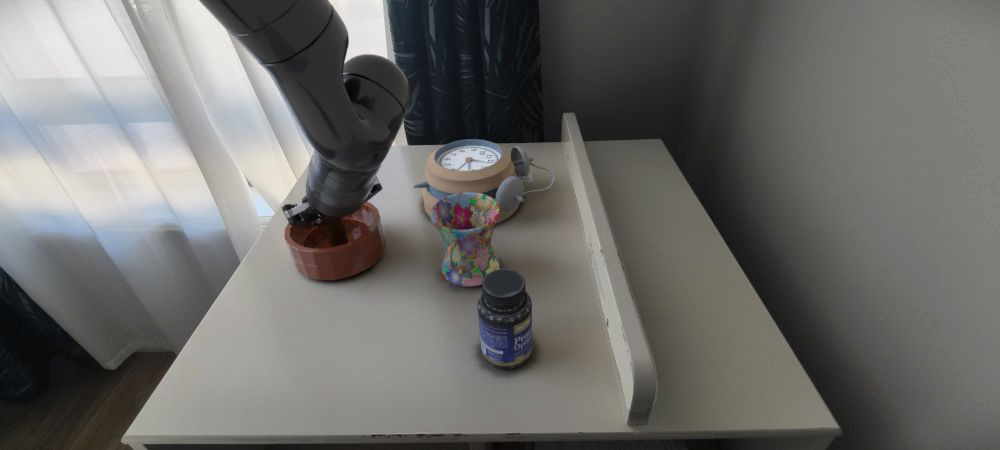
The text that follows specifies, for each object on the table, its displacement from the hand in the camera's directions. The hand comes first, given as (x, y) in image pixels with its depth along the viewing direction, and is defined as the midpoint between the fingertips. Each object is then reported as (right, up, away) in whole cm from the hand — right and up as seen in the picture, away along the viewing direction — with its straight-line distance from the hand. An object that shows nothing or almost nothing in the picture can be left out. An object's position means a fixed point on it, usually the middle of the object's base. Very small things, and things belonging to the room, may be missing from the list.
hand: (328, 217), depth 74 cm
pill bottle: (+27, -16, -14) cm, 34 cm away
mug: (+21, -9, -3) cm, 23 cm away
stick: (+1, -5, +2) cm, 6 cm away
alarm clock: (+24, +3, +13) cm, 27 cm away
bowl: (+1, -6, +2) cm, 6 cm away
